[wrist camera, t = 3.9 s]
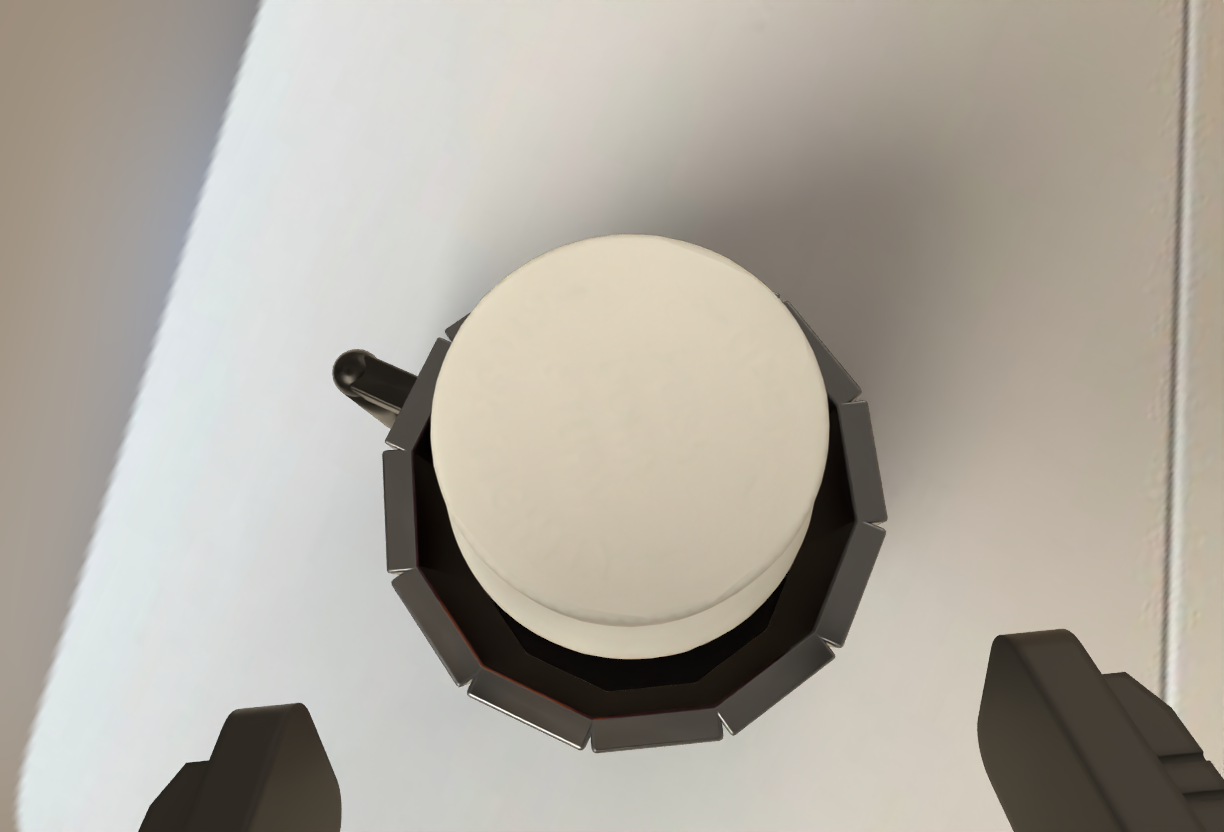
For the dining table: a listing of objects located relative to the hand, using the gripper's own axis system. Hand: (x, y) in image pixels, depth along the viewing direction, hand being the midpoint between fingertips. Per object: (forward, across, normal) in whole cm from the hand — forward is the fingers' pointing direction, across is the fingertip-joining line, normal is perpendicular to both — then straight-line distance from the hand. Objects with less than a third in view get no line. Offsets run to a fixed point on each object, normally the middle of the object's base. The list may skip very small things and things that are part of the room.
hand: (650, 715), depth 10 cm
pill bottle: (+10, 0, +6) cm, 12 cm away
